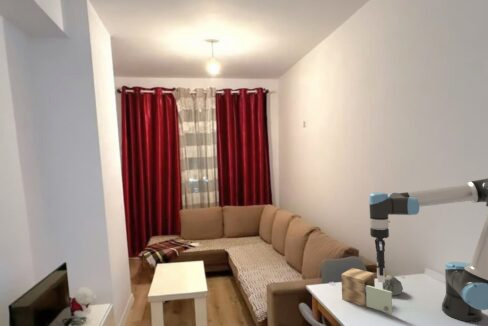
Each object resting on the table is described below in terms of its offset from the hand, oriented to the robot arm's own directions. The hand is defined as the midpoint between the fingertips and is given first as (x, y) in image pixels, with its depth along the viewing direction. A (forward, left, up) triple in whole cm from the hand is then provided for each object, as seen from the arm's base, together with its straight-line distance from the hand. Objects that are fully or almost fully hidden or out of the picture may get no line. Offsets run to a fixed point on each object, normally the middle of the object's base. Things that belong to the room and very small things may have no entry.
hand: (381, 279), depth 136 cm
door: (+5, -7, -18) cm, 19 cm away
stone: (+7, -31, -19) cm, 37 cm away
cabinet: (+17, -13, -19) cm, 29 cm away
